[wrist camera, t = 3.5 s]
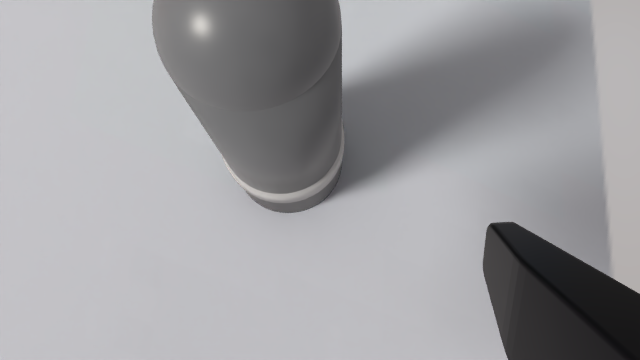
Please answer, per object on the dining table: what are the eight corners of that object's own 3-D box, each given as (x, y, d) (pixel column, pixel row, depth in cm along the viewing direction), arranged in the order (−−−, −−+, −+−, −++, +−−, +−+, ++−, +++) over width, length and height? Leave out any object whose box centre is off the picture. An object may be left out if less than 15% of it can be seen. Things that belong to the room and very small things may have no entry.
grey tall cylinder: (364, 181, 22) (391, -4, 10) (265, 235, 21) (170, 107, 10) (311, 94, 23) (278, -160, 11) (217, 143, 23) (80, -70, 11)
